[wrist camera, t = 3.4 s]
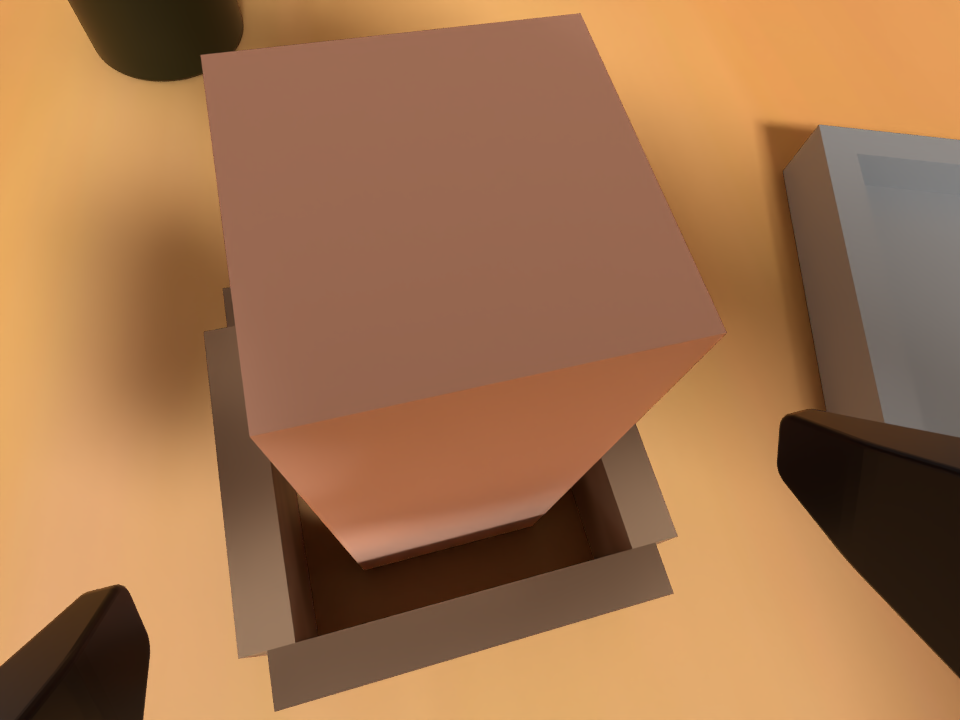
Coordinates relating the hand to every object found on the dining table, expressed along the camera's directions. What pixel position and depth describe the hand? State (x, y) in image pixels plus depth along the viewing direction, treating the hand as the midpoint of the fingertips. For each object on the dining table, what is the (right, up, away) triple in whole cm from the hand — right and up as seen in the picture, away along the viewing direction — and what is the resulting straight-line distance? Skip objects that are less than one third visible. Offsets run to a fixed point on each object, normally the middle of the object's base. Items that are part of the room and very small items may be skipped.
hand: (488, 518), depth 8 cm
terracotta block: (-2, -1, +11) cm, 11 cm away
